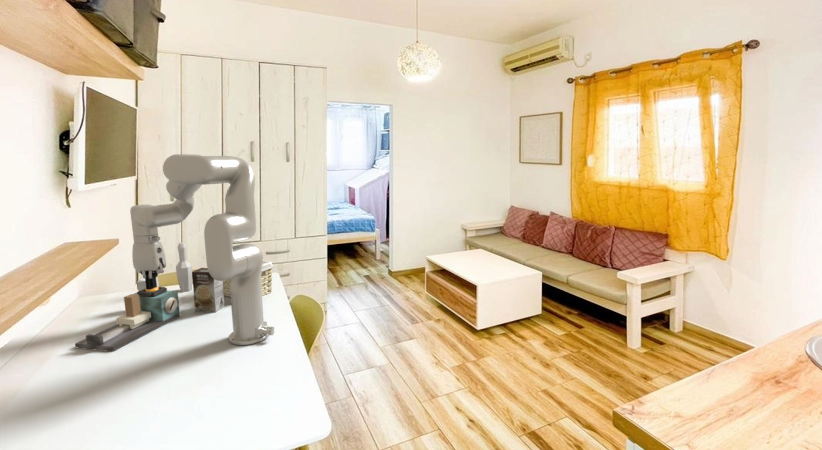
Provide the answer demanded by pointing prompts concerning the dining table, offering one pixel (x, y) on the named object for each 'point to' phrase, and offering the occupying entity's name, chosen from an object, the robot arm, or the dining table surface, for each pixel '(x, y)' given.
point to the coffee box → (207, 291)
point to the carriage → (133, 313)
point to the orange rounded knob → (152, 289)
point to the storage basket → (265, 280)
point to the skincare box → (144, 284)
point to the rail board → (117, 336)
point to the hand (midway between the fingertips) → (151, 288)
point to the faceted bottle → (184, 270)
